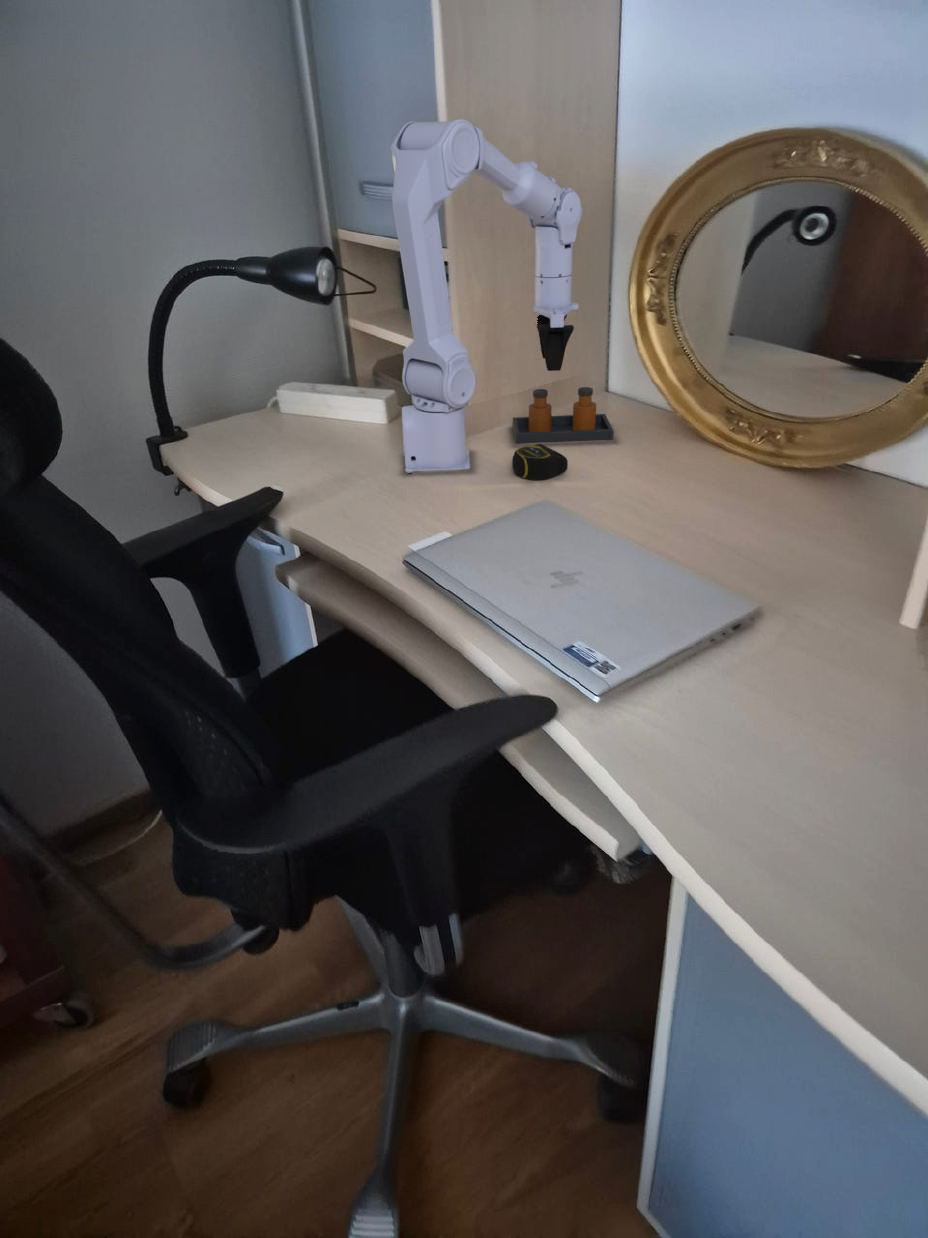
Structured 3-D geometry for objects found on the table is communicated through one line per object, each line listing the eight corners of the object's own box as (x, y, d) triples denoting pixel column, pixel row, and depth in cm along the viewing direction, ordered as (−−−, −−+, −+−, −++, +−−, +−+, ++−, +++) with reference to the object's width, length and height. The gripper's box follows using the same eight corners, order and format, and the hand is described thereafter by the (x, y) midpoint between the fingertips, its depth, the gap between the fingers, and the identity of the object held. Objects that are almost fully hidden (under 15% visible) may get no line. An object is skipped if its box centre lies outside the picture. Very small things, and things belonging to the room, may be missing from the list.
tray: (515, 446, 127) (515, 434, 126) (512, 429, 134) (512, 417, 133) (612, 442, 127) (613, 430, 126) (604, 425, 134) (605, 413, 133)
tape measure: (569, 478, 115) (570, 453, 113) (528, 488, 112) (528, 463, 111) (543, 463, 120) (543, 439, 118) (503, 473, 118) (503, 448, 116)
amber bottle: (573, 435, 129) (575, 392, 125) (571, 428, 132) (572, 386, 128) (596, 435, 129) (598, 391, 125) (593, 427, 132) (595, 385, 128)
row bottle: (529, 437, 129) (529, 394, 125) (527, 430, 132) (527, 387, 128) (552, 436, 129) (553, 393, 125) (549, 429, 132) (550, 387, 128)
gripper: (585, 281, 119) (581, 374, 126) (573, 266, 131) (570, 351, 138) (537, 283, 119) (536, 376, 126) (529, 267, 131) (529, 353, 138)
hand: (551, 363), depth 132 cm, fingers open, 7 cm apart
